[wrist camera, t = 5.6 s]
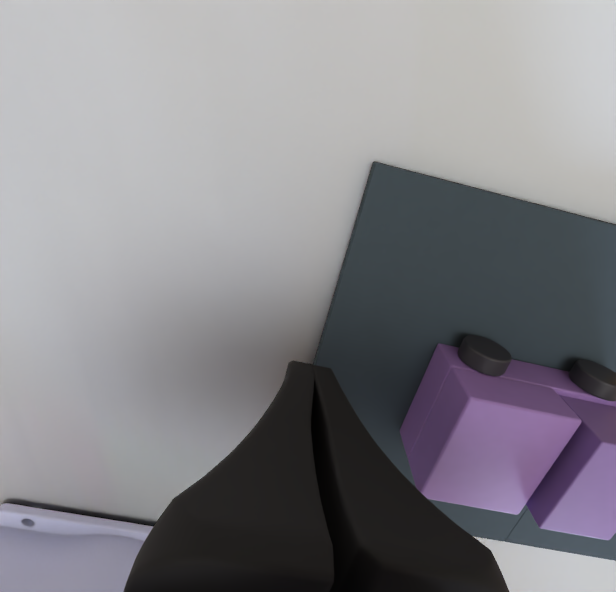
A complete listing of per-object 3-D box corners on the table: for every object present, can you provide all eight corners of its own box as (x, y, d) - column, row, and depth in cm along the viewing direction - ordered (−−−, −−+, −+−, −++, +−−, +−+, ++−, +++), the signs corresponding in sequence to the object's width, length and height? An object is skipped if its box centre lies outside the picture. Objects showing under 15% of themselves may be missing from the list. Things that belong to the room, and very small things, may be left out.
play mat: (274, 494, 17) (273, 502, 16) (372, 160, 11) (375, 162, 11) (701, 568, 19) (709, 576, 18) (968, 316, 13) (987, 322, 13)
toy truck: (393, 442, 15) (415, 526, 12) (444, 326, 13) (487, 391, 10) (545, 471, 16) (604, 558, 12) (617, 365, 13) (709, 438, 10)
